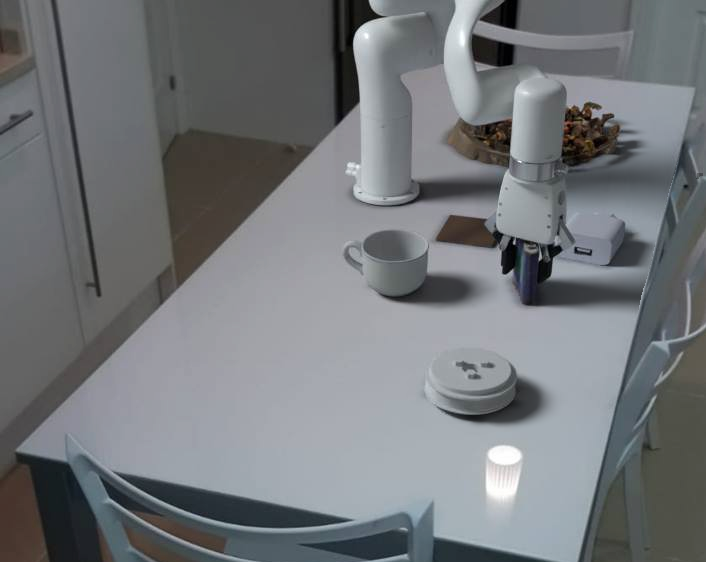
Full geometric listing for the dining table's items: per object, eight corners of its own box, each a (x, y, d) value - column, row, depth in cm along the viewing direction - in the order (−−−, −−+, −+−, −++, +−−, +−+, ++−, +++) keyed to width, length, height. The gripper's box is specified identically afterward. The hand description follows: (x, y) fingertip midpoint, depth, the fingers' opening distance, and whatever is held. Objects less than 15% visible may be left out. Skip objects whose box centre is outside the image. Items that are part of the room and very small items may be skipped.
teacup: (437, 279, 179) (439, 234, 174) (412, 309, 172) (413, 263, 167) (361, 265, 184) (360, 220, 179) (333, 293, 176) (331, 247, 171)
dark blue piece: (510, 278, 179) (515, 217, 172) (527, 277, 179) (533, 216, 173) (521, 306, 172) (527, 243, 165) (539, 305, 172) (546, 242, 165)
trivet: (435, 240, 191) (435, 237, 190) (450, 217, 198) (450, 214, 198) (491, 247, 188) (491, 244, 188) (504, 224, 196) (504, 220, 195)
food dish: (640, 135, 231) (646, 98, 226) (577, 192, 210) (583, 153, 205) (492, 102, 245) (495, 67, 240) (419, 152, 224) (421, 115, 219)
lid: (450, 429, 146) (451, 398, 142) (409, 382, 155) (409, 352, 152) (532, 406, 149) (535, 376, 146) (487, 362, 159) (489, 332, 156)
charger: (631, 231, 192) (608, 266, 182) (580, 222, 196) (555, 256, 185) (635, 205, 189) (612, 240, 179) (583, 197, 193) (558, 230, 182)
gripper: (598, 169, 161) (585, 279, 172) (495, 147, 169) (488, 254, 180) (577, 186, 156) (564, 299, 167) (471, 163, 164) (466, 272, 175)
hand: (525, 274), depth 174 cm, fingers closed on dark blue piece, 5 cm apart
